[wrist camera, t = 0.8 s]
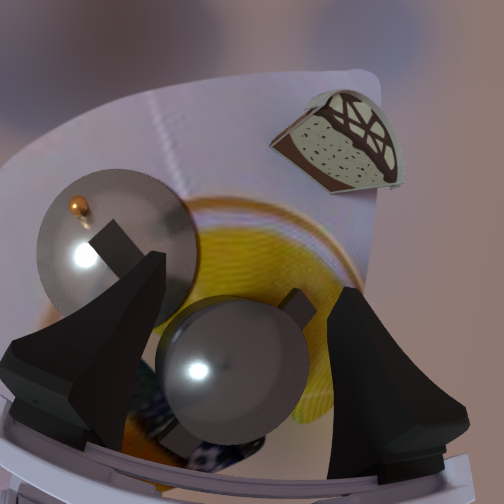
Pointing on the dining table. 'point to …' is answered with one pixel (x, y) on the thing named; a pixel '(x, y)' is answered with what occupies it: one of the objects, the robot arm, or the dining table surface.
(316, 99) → the food container
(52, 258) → the cooker lid
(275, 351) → the cooker pot
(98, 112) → the dining table surface
